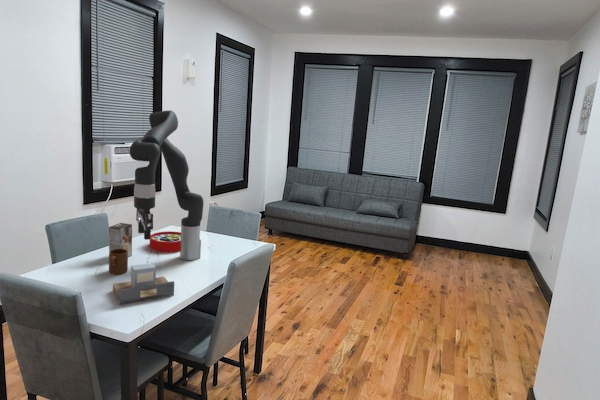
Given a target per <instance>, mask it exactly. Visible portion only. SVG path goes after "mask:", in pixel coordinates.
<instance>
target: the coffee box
mask: <svg viewBox="0 0 600 400" xmlns="http://www.w3.org/2000/svg"><path fill="white" fill-rule="evenodd" d="M108 248H109V249H108V253H109V252H110V251H111V250H114V249H125V250H127V251H128V258H129V257H131V256H133V223H125V222H120V223H119V222H118V223H117V224H114V225H110V226H109V227H108Z"/></svg>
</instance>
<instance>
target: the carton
mask: <svg viewBox="0 0 600 400" xmlns="http://www.w3.org/2000/svg"><path fill="white" fill-rule="evenodd" d="M130 269H131V270H130V281H131V286H132V287H133V288H134V287H140V286H146V285H153V284H155V278H157V277H156V273H157V270H156V269H157V267H156V265H154V263H153V262H150V263H142V264H141V263H140V264H134V265H133V264H132V265H130Z"/></svg>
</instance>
